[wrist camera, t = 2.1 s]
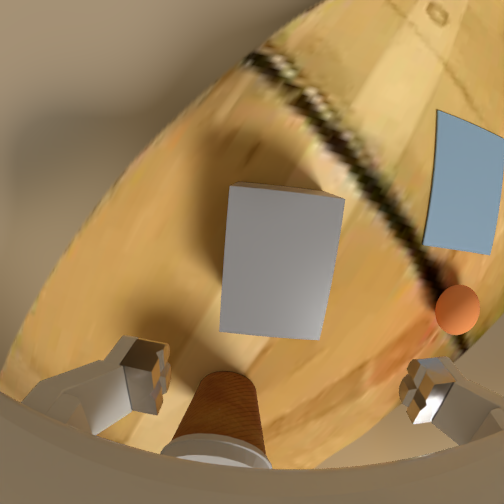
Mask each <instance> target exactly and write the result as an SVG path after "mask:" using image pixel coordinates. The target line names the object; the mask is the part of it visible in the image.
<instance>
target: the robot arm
mask: <svg viewBox="0 0 504 504" xmlns="http://www.w3.org/2000/svg"><path fill="white" fill-rule="evenodd" d="M169 356H170V347H169V345H168V343H163V342H158V341H153V340H148V339H143V338H138V337H134V336H129V335H124V336H122V337H121V339H120V340H119V341H118V342H117V344H116V345H115V346H114V348H113V349H112V350H111V351H110V353H109V354H108V355H107V357H106V358H105V359H104V361H101V360H98V361H95V362H93V363H90V364H87V365H84V366H82V367H79V368H76V369H73V370H71V371H68V372H65V373H62V374H59V375H57V376H54V377H51V378H48V379H45V380H42V381H40V382H39V383H38V384H37V385H36V386H35V387H34V388H33V389H32V391H31V392H30V393H29V394H28V395H27V396H26V397H25V399H24V400H23V401H22V402H21V403H20V402H18V401H16V400H15V399H13V398H11V397H9V396H7V395H6V394H4V393H2V392H0V504H504V397H503V396H502V395H499V394H497V393H495V392H493V391H491V390H489V389H487V388H485V387H483V386H481V385H479V384H477V383H475V382H473V381H471V380H467V379H466V378H465V377H464V376H463V375H462V373H461V372H460V371H459V370H458V368H457V367H456V366H455V365H454V364H453V362H452V361H451V360H450V359H449V358H448V357H446V356H443V357H435V358H426V359H412V361H411V362H410V363H409V365H408V367H407V371H408V374H407V375H406V376H405V377H404V378H403V379H402V381H401V384H400V386H399V397H400V400H401V402H402V404H404V405H405V406H407V407H408V408H407V411H406V412H407V414H408V416H409V418H410V420H411V422H412V424H418V423H426V422H432V424H434V425H435V426H436V427H437V428H439V429H440V430H441V431H442V432H443V433H445V434H446V435H447V436H448V437H450V438H451V439H452V440H453V441H455V442H456V443H457V444H458V445H459V446H456V447H453V448H449V449H446V450H442V451H438V452H435V453H430V454H426V455H422V456H417V457H413V458H408V459H402V460H397V461H392V462H386V463H378V464H371V465H363V466H355V467H342V468H327V469H263V468H248V467H236V466H227V465H219V464H211V463H204V462H198V461H192V460H186V459H181V458H176V457H171V456H166V455H162V454H157V453H153V452H149V451H145V450H141V449H137V448H134V447H130V446H127V445H123V444H120V443H117V442H113V441H110V440H107V439H104V438H101V437H98V436H95V435H97V434H98V433H100V432H101V431H103V430H105V429H106V428H108V427H109V426H111V425H112V424H114V423H115V422H117V421H118V420H120V419H121V418H123V417H124V416H126V415H127V414H129V413H130V412H132V410H134V411H138V412H143V413H148V414H153V415H158V413H159V410H160V408H161V406H162V403H163V394H165V393H166V392H167V391H168V388H169V384H170V379H171V365H170V364H169V363H168V361H167V360H168V358H169Z"/></svg>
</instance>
